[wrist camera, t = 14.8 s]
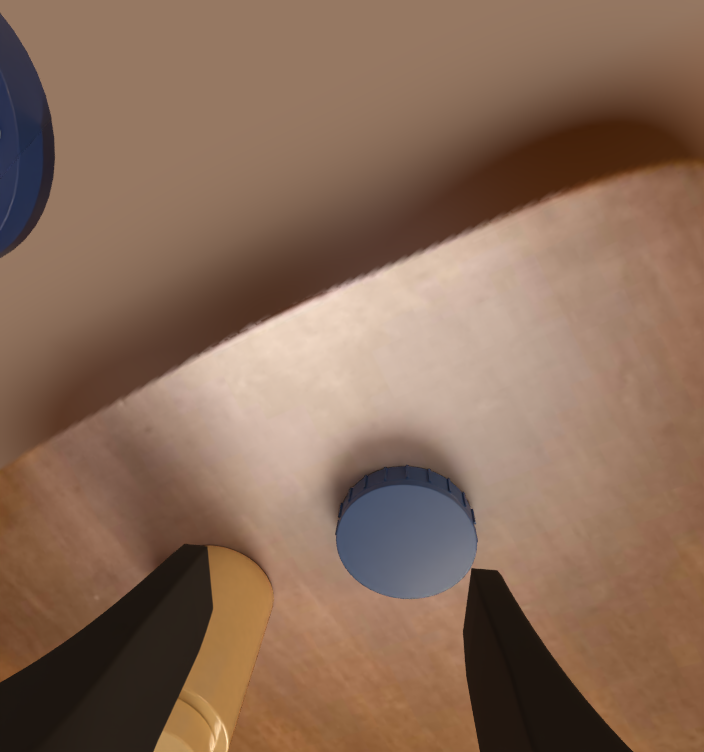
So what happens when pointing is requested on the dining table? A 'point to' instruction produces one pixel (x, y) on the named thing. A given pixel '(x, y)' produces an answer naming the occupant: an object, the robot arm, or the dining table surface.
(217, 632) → the jar
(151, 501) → the dining table surface
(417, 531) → the lid
